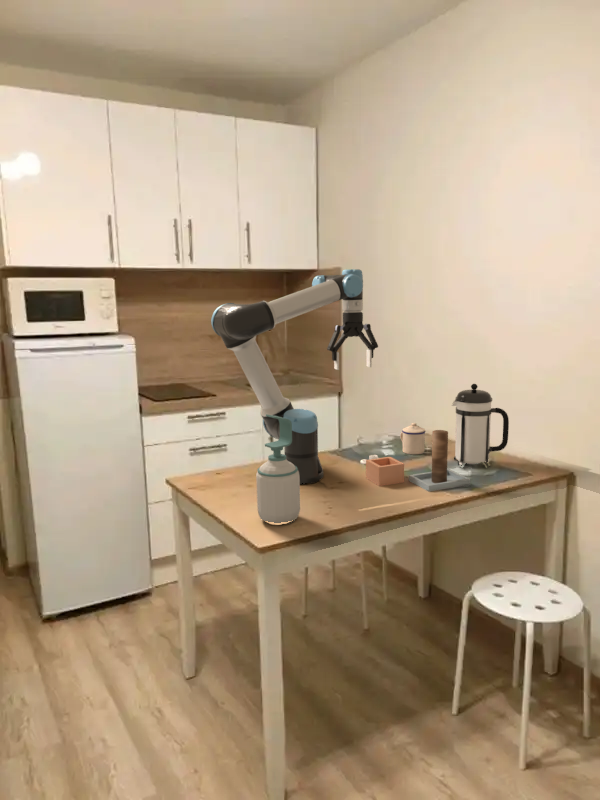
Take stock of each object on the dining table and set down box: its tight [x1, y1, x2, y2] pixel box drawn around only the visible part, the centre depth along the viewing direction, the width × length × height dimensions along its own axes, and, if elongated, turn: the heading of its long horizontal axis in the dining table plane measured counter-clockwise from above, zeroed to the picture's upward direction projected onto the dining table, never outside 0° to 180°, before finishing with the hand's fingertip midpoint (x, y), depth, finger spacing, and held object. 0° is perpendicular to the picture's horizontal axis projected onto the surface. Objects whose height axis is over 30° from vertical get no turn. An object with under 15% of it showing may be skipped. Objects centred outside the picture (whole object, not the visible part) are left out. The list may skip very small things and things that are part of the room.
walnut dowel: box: [431, 429, 449, 483], centre depth 201 cm, size 5×5×17 cm
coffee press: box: [451, 383, 510, 466], centre depth 222 cm, size 17×16×30 cm
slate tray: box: [408, 468, 471, 493], centre depth 203 cm, size 16×12×2 cm
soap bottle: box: [255, 414, 301, 523], centre depth 173 cm, size 12×12×31 cm
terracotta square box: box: [365, 456, 405, 487], centre depth 207 cm, size 9×9×7 cm
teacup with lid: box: [400, 422, 426, 455], centre depth 243 cm, size 12×9×12 cm
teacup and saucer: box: [359, 454, 379, 465], centre depth 226 cm, size 9×8×4 cm
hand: (353, 368), depth 231 cm, fingers open, 13 cm apart
